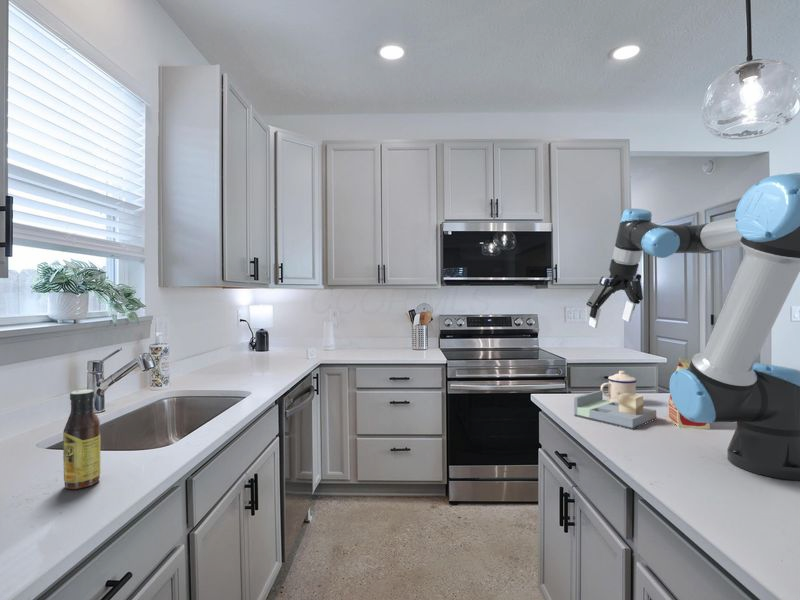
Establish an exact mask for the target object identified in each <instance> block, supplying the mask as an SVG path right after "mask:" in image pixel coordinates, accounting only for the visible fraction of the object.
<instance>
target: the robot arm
mask: <svg viewBox="0 0 800 600" xmlns="http://www.w3.org/2000/svg"><path fill="white" fill-rule="evenodd" d="M652 216H653V214H652V212H651V211H650V210H647V209H643V208H626V209H625V210H624V211H623V212H622V215H621V218H620V219H621V220H620V221H619V225H618V230H617V235H616V239H615V243H614V244H615V245H614V249H613V253H612V255H611V256H612V257H611V258H612V259H611V260H610V264H609V268H608V271H609V273H610V275H609V276H608V277H605V276H601V277H600V279H599V282H598V284H597V286H596V287H595V289H594V290H593V293H591V295H590V297H589V299H587V302H586V306H588V307H590V308H591V309H590V311H589V320H588V321H589V322H588V325H589V326H591V327H592V328H594V329H597V327H598V324H599V319H600V316H601V311H602V309H601V307H602V305H604V303H605V302H606V301H607V300H608V299H609V298H610V297H611V295H612V294H615V293H616V292H618V291H624V292H625V294H626V296H627V299H628V300H625V301H626V302H625V306H624V309H623V312H622V316H621V317H622V318H621V319H622V320H624V321H626V322H627V323H630V322H631V320H632V317H633V316H632V315H633V313H634V311H635V308H636V305H639V304H640V303H641V302H642V300H644V296H643V289H642V284H641V283H642V282H641V280H642V275H641V274H639V273H638V268H639V265H640V264H639V263H640V261H641V258H642V255H643V252H645V253H646V254H648V255H649V256H653V257H656V258H659V259H665V258H668V257H670V256H672V255H674V254H704V255H705V254H716V253H718V252H721V251H723V250H726V249H728V250H729V249H735V248H741V247H742V248H743V249H744V251H745V254H744V255H743V258H742V260H741V262H740V265H739V268H738V270H737V271H736V275H735V276H734V279H733V281H732V284H731V287H730V289H729V291H728V294H727V296H726V299H725V301H724V303H723V306H722V308H721V310H720V313H719V315H718V318H717V320H716V322H715V325H714V327H713V329H712V332H711V335H710V336H709V339H708V342H707V344H706V346H705V349H704V351H703V352H702V351H701V352H698V353H695V354H694V355H693V356H692V358H691V360H690V361H691V363H690V365H689V367H688V369H680V370H678V371H676V370H675V371H674V372H673V373H672V374H671V375H670V379H669V383H668V384H669V395H670V394H671V397H672V400H673V403H674V405H675V407H676V408H677V410H678V411H679V412H680V413H681V414H682V415H683V416H684V417H685V418H686V419H688V420H690V421H693V422H700V423H710V424H713V423H714V424H716V423H736V428H735V431H734V433H733V435H732V438H731V440H730V442H729V444H728V447H727V452H726V453H727V454H726V455H727V456H726V457H727V460H728V462H729V463H731V464H732V465H734V466H736V467H738V468H740V469H742V470H745V471H747V472H750V473H754V474H757V475H761V476H765V477H770V478H776V479H783V480H787V481H789V480H790V481H791V480H792V481H800V370H799V369H796V368H792V367H786V366H782V365H781V366H779V365H773V364H769V363H767V364H765V363H760V362H756V361H757V360H758V357H759V355H760V353H761V351H762V350H763V347H764V345H765V343H766V341H767V339H768V337H769V335H770V333H771V331H772V328H773V327H774V326H775V323H776V321H777V319H778V317H779V315H780V313H781V311H782V309H783V306H784V305H785V302H786V300H787V299H788V296H789V294H790V292H791V290H792V289H793V286H794V284H795V282H796V280H797V278H798V277H799V274H800V172H792V173H787V174H785V173H784V174H776V175H771V176H768V177H765V178H763V179H761V180H760V181H758V182H756V183H755V184H753V185H752V186H751V187H749V188H748V190H747V191H746V192H745V193H744V194H743V196H742V197H741V199H739V202H738V204H737V206H736V210H735V213H734V216H732V217H727V218H725V219H719V220H714V221H710V222H708V223H707V222H706V223H702V224H695V225H694V224H693V225H685V224H683V225H682V224H681V225H677V224H676V225H674V224H673V225H672V224H670V225H669V224H667V225H664V224H663V225H662V224H658V223H657V224H656V223H653V222H652Z"/></svg>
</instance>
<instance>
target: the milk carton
mask: <svg viewBox="0 0 800 600" xmlns="http://www.w3.org/2000/svg"><path fill="white" fill-rule="evenodd" d="M678 358H679V362H678V365H677V367H676V370H675V371H678V370H680V369H688V367H689V365H690V363H691V360H689V359H685V358H682V357H678ZM667 415H668V416H667V417H668V418H669V419H670V420H671V421H672V422H673V423H672V422H671V421H670V420H669V419H668V418H667V419H668V420H669V421H670V422H671V423H672V424H674V425H675V424H676V425H677V426H678V427H682V428H681V429H693V428H696V430H697V429H698V430H699V429H700V430H701V429H702V430H710V429H711V427H710V424H711V423H700V422H693V421H690V420H688V419H686V418H685V417H684V416H683V415H682V414H681V413H680V412H679V411H678V410H677V408H676V407H675V405H674V403H673V400H672V397H671V394H670V393H669V399H668V414H667ZM676 425H675V426H676ZM677 426H676V427H677ZM678 427H677V428H678Z"/></svg>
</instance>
